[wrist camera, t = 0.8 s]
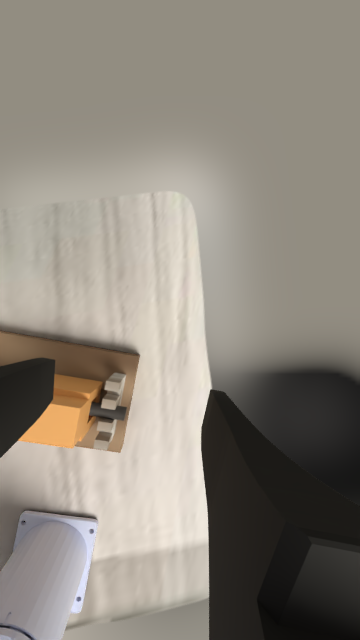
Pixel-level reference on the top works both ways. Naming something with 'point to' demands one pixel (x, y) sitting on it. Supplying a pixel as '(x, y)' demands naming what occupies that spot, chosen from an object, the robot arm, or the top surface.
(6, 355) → the cord board
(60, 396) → the orange notched block
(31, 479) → the top surface
